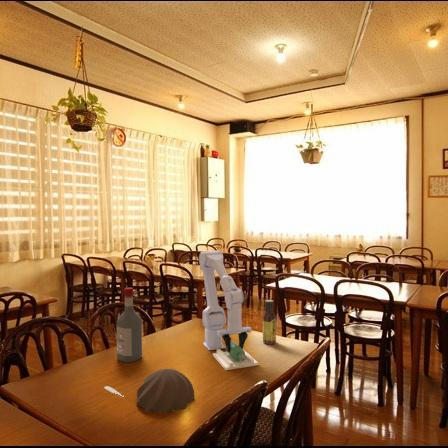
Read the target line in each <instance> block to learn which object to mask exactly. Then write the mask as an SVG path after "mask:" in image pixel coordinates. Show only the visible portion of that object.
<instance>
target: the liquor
mask: <svg viewBox="0 0 448 448" xmlns="http://www.w3.org/2000/svg"><path fill="white" fill-rule="evenodd" d="M123 291H124V294H123V295H124V311H123V312H122V313H121V314H120V315H119V316H118V318H117V319H116V323H115V326H116V358H117V360H118V361H120V362H123V363H134V362H136V361H138V360H140V359H142V356H143V326H142V325H143V324H142V323H143V321H142V320H143V319H142V317H141V315H139V314H138V313H137V312H136V311H135V308H134V287H124V289H123Z"/></svg>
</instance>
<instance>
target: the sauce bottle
mask: <svg viewBox="0 0 448 448" xmlns="http://www.w3.org/2000/svg"><path fill="white" fill-rule="evenodd" d="M264 304H265V308H264V312H263V313H262V342H263V344H265V345H273V344H275V343H276V341H277V317H276V314H275V311H274V310H275V309H274V300H272V299H266V300H265V301H264Z"/></svg>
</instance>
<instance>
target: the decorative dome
mask: <svg viewBox="0 0 448 448" xmlns="http://www.w3.org/2000/svg"><path fill="white" fill-rule="evenodd" d="M194 389H195V388H194V386H193V384H192V382H191V381H190V379H189V378H188V377H187V376H186V375H185V374H184V373H182V372H180V371H178V370H176V369H175V368H163V369H161V368H160V369H157V370H156V371H155V372H153V373H151V374H149V375H148V376H146V378H145V379H144V380H143V384H141V385H140V386H139V387H138V389H137V390H136V396H137V402H136V405H135V406H136V407H139V406H140V408H142V407H143V408H142V409H145V410H146V411H145V410H144V411H145V412H146V413H159V412H161V413H160V414H163V413H167V414H169V413H172V412H174V411H182V410H185V409H186V408H187V406H188V405H189V404H191V403H192V402H194V401H195V390H194ZM173 410H174V411H173ZM171 411H172V412H171Z"/></svg>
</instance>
